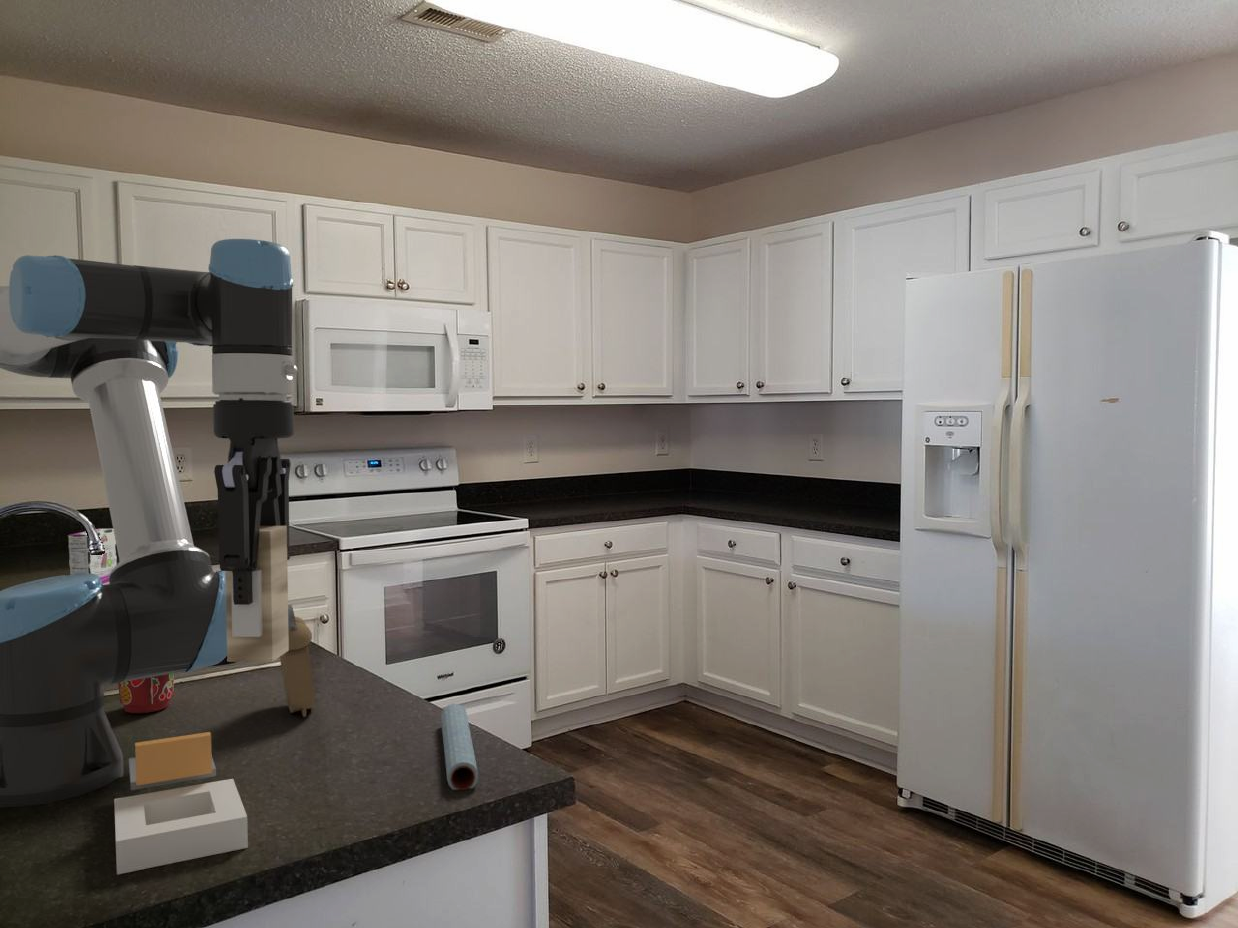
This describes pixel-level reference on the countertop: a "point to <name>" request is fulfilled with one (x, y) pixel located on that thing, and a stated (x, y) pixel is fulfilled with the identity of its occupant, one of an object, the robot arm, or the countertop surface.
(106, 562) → the candy bar box
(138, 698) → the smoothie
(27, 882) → the countertop surface
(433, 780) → the countertop surface
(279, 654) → the peg
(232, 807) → the socket
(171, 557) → the robot arm
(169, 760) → the shutter
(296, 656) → the alarm clock
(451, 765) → the aluminum foil
